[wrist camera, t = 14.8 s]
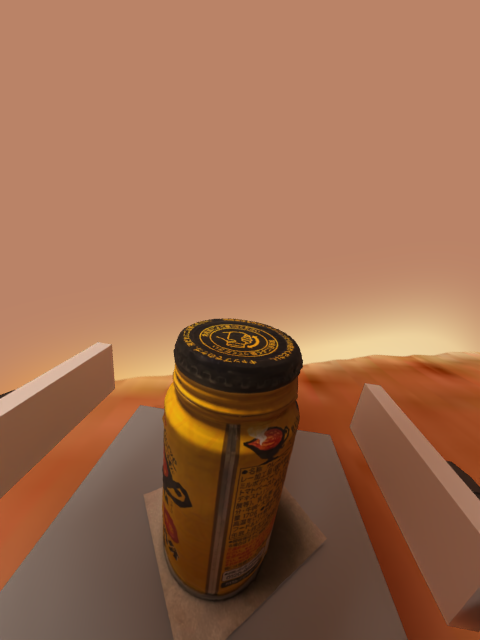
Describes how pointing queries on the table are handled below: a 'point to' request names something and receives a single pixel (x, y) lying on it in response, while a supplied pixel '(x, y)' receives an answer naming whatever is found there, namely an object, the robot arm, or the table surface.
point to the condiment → (228, 477)
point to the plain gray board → (142, 568)
